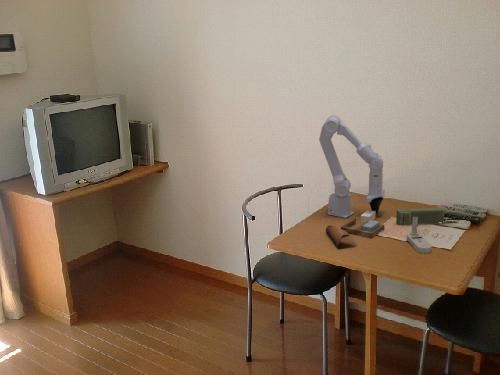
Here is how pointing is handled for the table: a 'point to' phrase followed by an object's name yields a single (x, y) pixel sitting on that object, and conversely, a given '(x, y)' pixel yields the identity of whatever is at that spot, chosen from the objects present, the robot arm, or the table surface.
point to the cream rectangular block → (368, 216)
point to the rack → (359, 229)
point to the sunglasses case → (340, 237)
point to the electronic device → (418, 239)
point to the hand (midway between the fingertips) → (374, 213)
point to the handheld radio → (421, 216)
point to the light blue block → (371, 226)
